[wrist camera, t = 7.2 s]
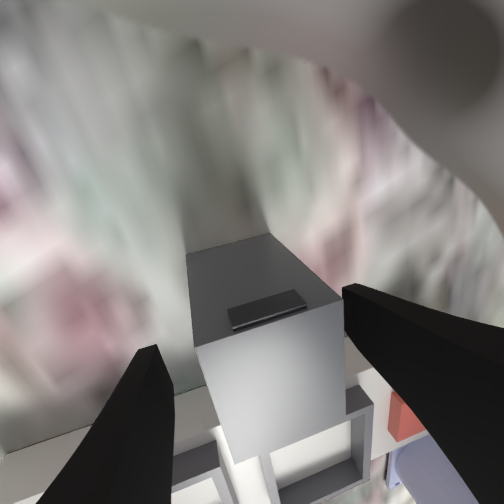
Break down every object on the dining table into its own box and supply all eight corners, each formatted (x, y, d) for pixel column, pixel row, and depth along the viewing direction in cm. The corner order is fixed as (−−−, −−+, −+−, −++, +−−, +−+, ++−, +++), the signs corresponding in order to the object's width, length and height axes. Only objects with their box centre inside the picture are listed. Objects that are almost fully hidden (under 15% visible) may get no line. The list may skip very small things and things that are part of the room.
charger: (269, 229, 12) (343, 294, 7) (282, 316, 14) (346, 418, 9) (184, 251, 11) (192, 343, 6) (211, 339, 14) (234, 464, 8)
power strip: (413, 313, 17) (470, 353, 14) (402, 403, 21) (445, 451, 17) (5, 455, 13) (-55, 562, 9) (82, 536, 16) (59, 634, 13)
